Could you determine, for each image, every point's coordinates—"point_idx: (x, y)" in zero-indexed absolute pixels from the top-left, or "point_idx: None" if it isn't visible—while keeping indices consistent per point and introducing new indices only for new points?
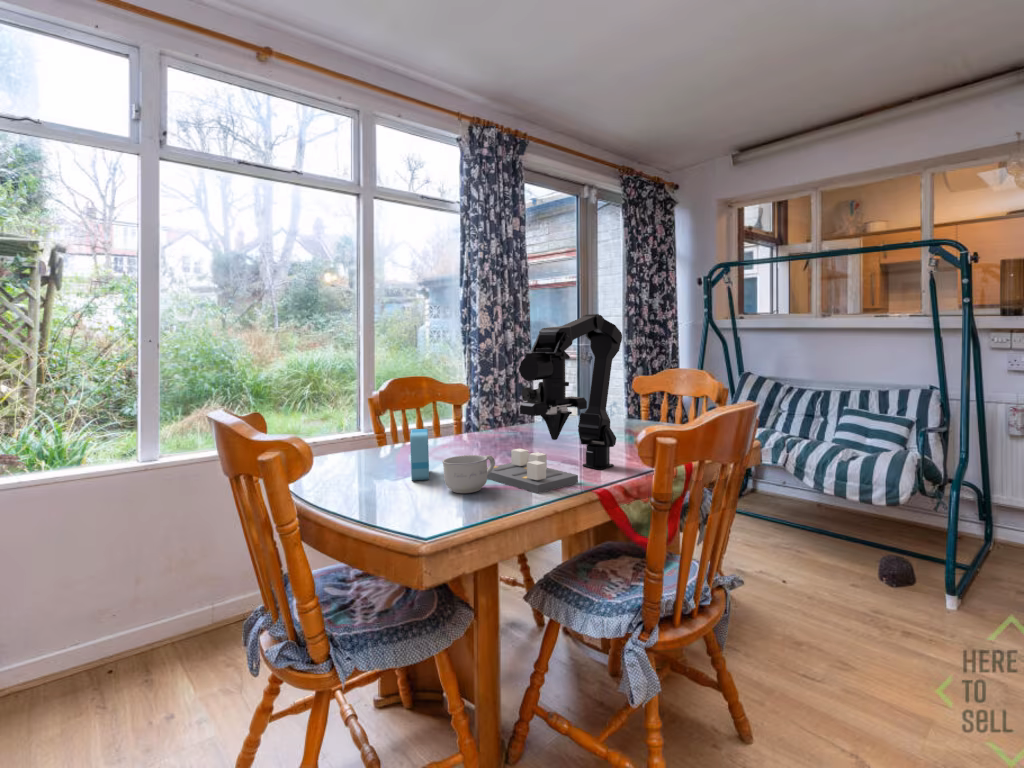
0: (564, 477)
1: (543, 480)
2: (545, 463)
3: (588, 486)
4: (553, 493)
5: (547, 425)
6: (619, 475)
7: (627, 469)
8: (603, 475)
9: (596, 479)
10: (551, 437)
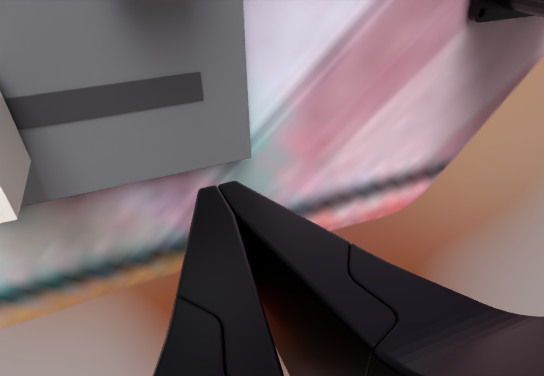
0: (163, 164)
1: None
2: (13, 217)
3: None
4: (24, 226)
5: (170, 335)
6: (431, 134)
7: (520, 81)
8: (401, 100)
9: (335, 135)
10: (196, 202)
